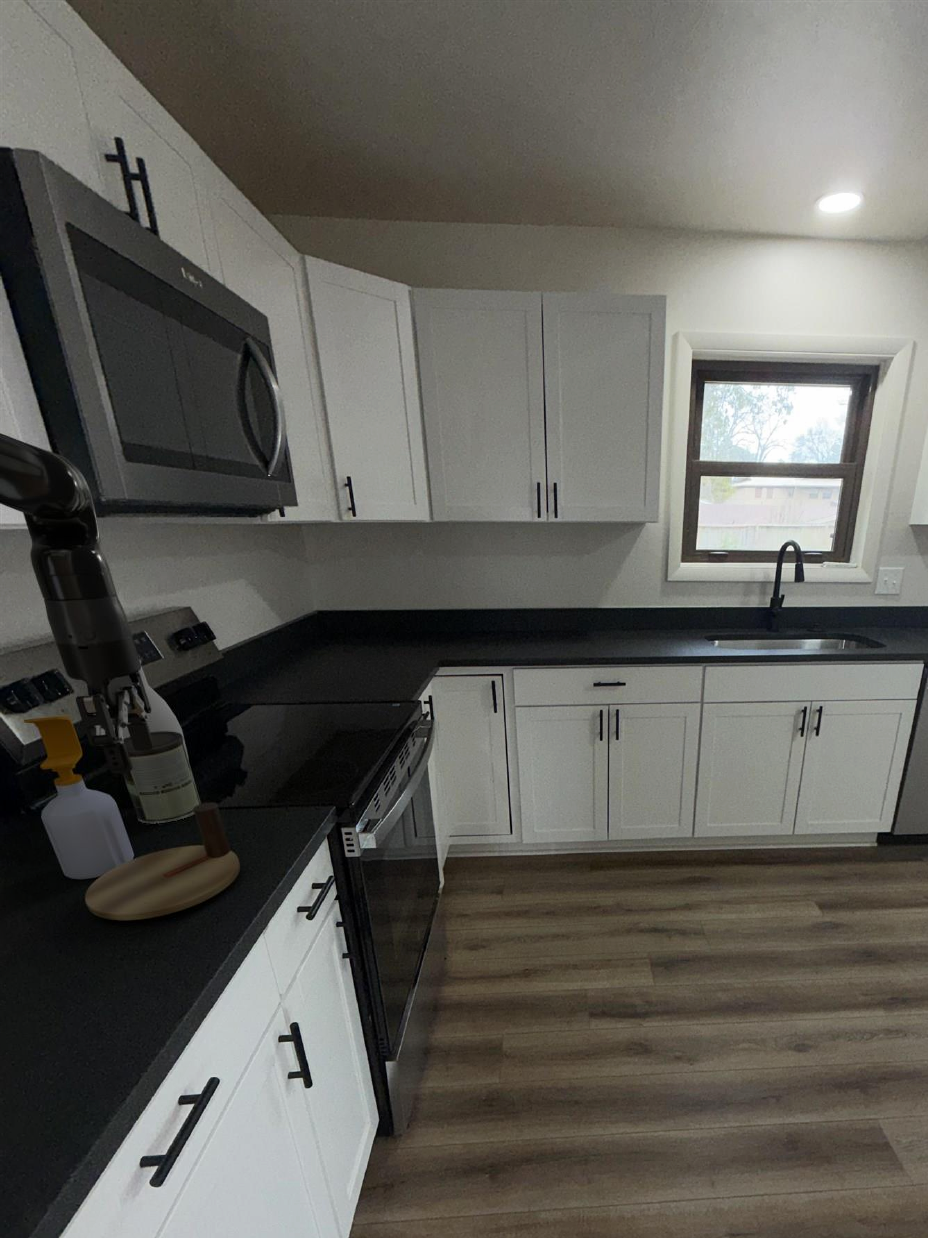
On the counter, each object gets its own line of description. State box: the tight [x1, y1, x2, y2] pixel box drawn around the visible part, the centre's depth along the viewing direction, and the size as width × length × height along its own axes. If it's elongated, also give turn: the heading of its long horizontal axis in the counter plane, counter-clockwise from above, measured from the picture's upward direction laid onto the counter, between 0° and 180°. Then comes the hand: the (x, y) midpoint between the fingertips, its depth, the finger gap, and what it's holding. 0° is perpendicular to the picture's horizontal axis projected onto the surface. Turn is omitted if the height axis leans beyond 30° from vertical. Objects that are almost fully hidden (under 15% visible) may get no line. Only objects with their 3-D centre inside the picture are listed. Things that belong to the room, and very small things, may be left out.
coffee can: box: [122, 731, 202, 825], centre depth 115 cm, size 10×10×14 cm
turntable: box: [84, 801, 241, 921], centre depth 92 cm, size 19×19×9 cm
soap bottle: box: [23, 716, 135, 880], centre depth 95 cm, size 9×9×25 cm
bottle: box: [114, 658, 190, 762], centre depth 123 cm, size 11×11×25 cm
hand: (134, 760), depth 84 cm, fingers open, 8 cm apart
